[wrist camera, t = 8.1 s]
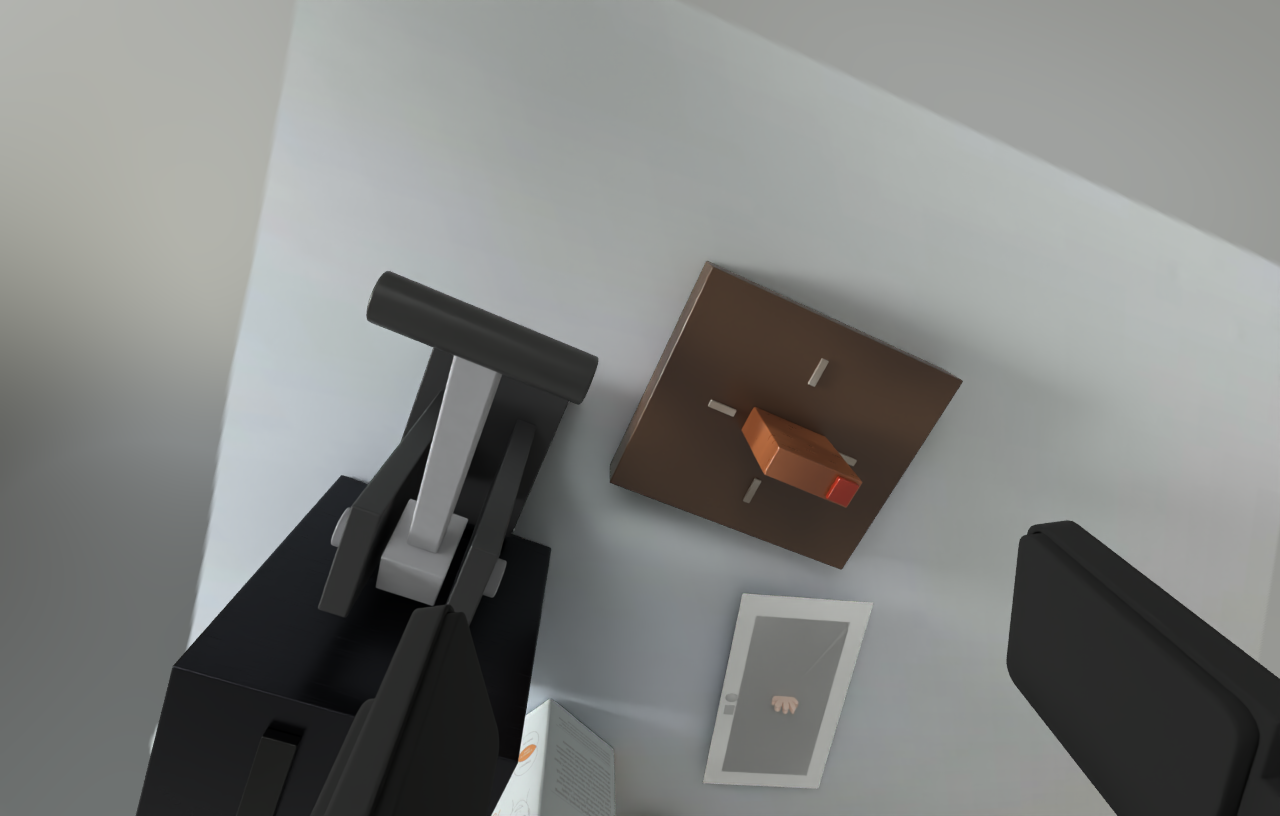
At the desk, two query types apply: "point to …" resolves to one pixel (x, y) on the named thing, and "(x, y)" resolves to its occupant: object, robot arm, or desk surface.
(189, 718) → the toaster
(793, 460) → the knob
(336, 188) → the desk surface
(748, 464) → the browning dial
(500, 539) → the lever bracket
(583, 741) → the small box
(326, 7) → the desk surface
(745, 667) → the touchpad
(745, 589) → the desk surface
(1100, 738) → the robot arm
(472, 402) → the lever
